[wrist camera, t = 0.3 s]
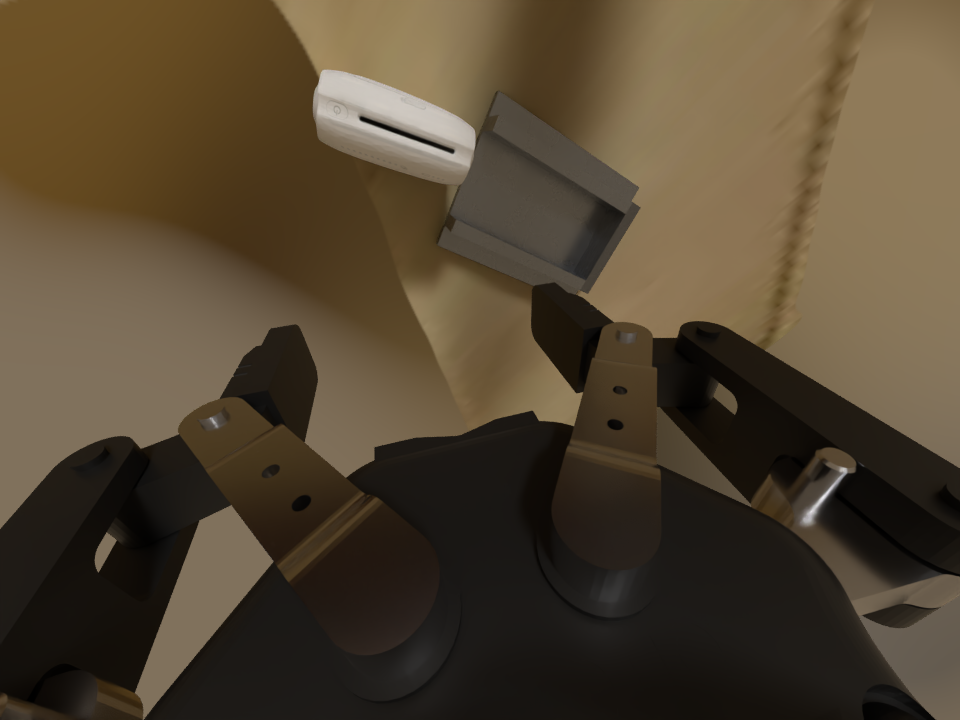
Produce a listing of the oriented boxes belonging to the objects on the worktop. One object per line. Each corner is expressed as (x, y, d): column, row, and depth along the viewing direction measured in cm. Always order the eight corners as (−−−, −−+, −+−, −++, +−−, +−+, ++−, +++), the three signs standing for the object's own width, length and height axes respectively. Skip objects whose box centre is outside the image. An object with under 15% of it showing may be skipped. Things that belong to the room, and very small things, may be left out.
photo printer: (325, 142, 29) (302, 144, 19) (330, 80, 27) (307, 46, 17) (442, 180, 33) (475, 199, 23) (454, 128, 31) (495, 123, 21)
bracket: (496, 91, 30) (510, 86, 27) (634, 186, 38) (658, 190, 35) (436, 243, 36) (442, 253, 33) (568, 299, 44) (583, 311, 40)
